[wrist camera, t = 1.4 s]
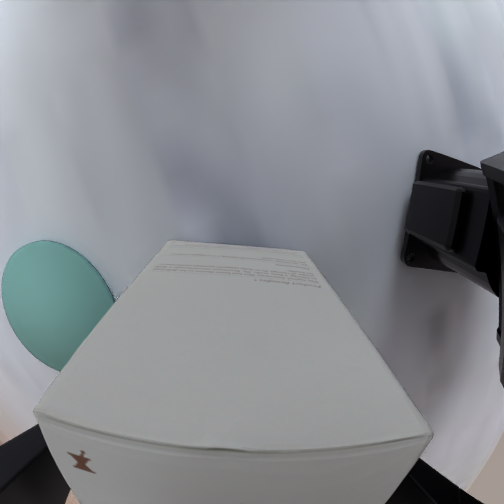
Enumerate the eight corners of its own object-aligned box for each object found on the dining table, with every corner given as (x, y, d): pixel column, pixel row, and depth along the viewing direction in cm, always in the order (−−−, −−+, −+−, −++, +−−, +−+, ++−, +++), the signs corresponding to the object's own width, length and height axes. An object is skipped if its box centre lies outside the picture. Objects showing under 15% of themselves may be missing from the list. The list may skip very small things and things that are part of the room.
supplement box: (166, 357, 18) (106, 551, 6) (167, 235, 16) (16, 403, 4) (289, 368, 18) (333, 565, 6) (311, 249, 16) (447, 433, 4)
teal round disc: (117, 250, 16) (114, 252, 15) (123, 383, 18) (121, 387, 18) (-1, 233, 15) (-5, 235, 15) (17, 352, 18) (14, 356, 17)
